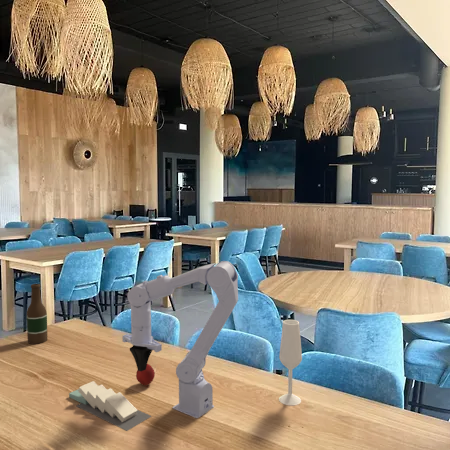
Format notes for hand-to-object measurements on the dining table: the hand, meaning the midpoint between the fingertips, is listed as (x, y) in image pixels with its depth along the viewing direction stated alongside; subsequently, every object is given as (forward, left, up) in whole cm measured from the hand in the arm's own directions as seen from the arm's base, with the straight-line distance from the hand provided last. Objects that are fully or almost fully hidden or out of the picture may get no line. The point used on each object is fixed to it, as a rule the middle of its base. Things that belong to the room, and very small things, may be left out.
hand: (141, 369), depth 127 cm
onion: (+7, -8, -10) cm, 15 cm away
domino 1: (+12, +9, -9) cm, 17 cm away
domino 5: (-5, +9, -9) cm, 13 cm away
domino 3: (+3, +9, -9) cm, 13 cm away
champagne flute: (-35, -27, -10) cm, 45 cm away
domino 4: (-1, +9, -9) cm, 13 cm away
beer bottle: (+73, -10, -10) cm, 74 cm away
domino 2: (+7, +9, -9) cm, 15 cm away
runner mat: (+2, +9, -10) cm, 14 cm away
